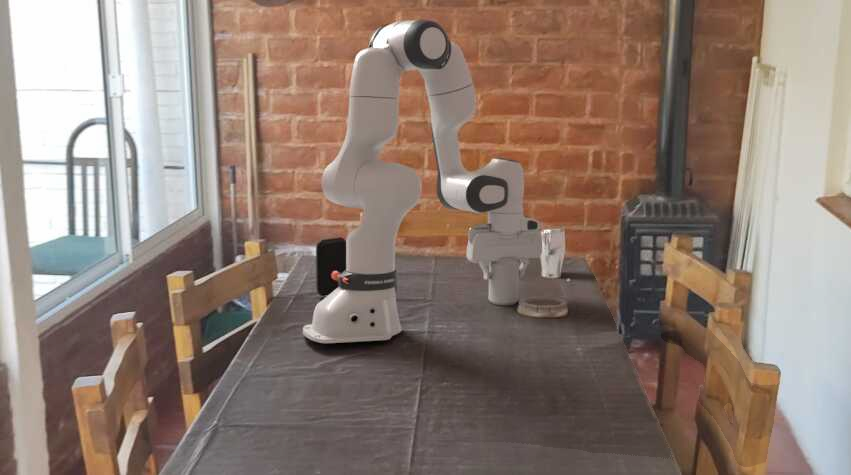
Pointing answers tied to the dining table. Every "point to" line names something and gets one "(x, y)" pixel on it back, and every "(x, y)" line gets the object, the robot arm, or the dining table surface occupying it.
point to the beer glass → (552, 252)
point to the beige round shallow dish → (542, 307)
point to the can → (504, 281)
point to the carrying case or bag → (329, 263)
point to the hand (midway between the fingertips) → (504, 277)
